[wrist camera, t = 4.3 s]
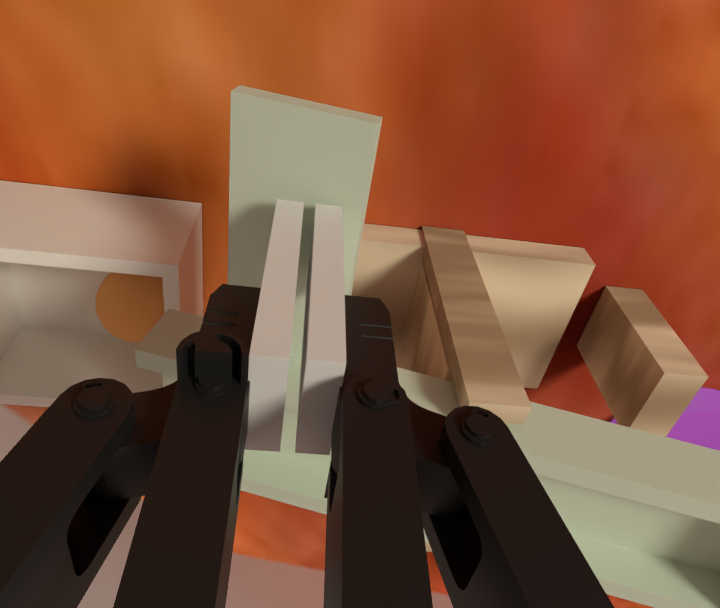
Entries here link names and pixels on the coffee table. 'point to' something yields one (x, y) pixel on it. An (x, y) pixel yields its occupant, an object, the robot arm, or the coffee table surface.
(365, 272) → the stand
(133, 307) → the ball
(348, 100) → the coffee table surface
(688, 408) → the figurine
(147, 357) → the lever
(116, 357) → the dish
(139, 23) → the coffee table surface
